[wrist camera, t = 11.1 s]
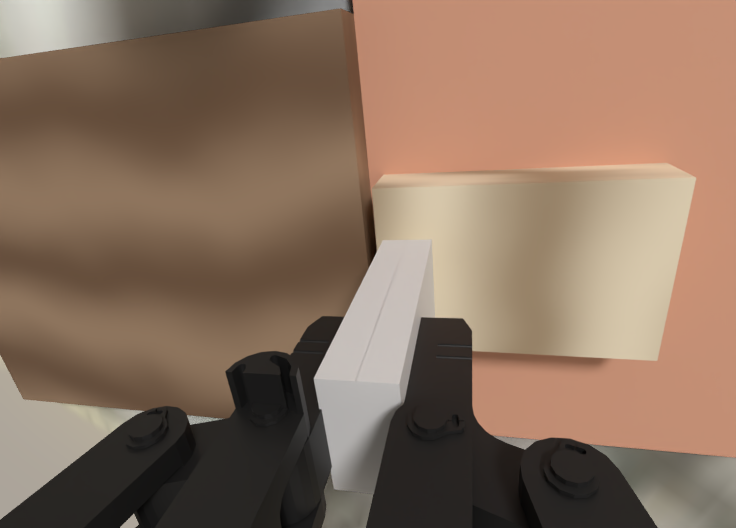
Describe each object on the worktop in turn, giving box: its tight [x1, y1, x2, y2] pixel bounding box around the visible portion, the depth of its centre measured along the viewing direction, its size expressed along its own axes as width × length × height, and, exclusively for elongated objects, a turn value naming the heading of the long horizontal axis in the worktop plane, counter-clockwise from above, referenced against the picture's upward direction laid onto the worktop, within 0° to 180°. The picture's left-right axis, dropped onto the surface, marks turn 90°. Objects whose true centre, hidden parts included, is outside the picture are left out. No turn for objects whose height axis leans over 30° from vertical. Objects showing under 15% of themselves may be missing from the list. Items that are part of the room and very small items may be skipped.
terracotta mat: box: [353, 0, 736, 457], centre depth 15 cm, size 18×16×1 cm
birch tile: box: [372, 163, 696, 361], centre depth 15 cm, size 9×6×2 cm, turn 95°
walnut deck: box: [0, 9, 377, 419], centre depth 19 cm, size 16×20×2 cm
